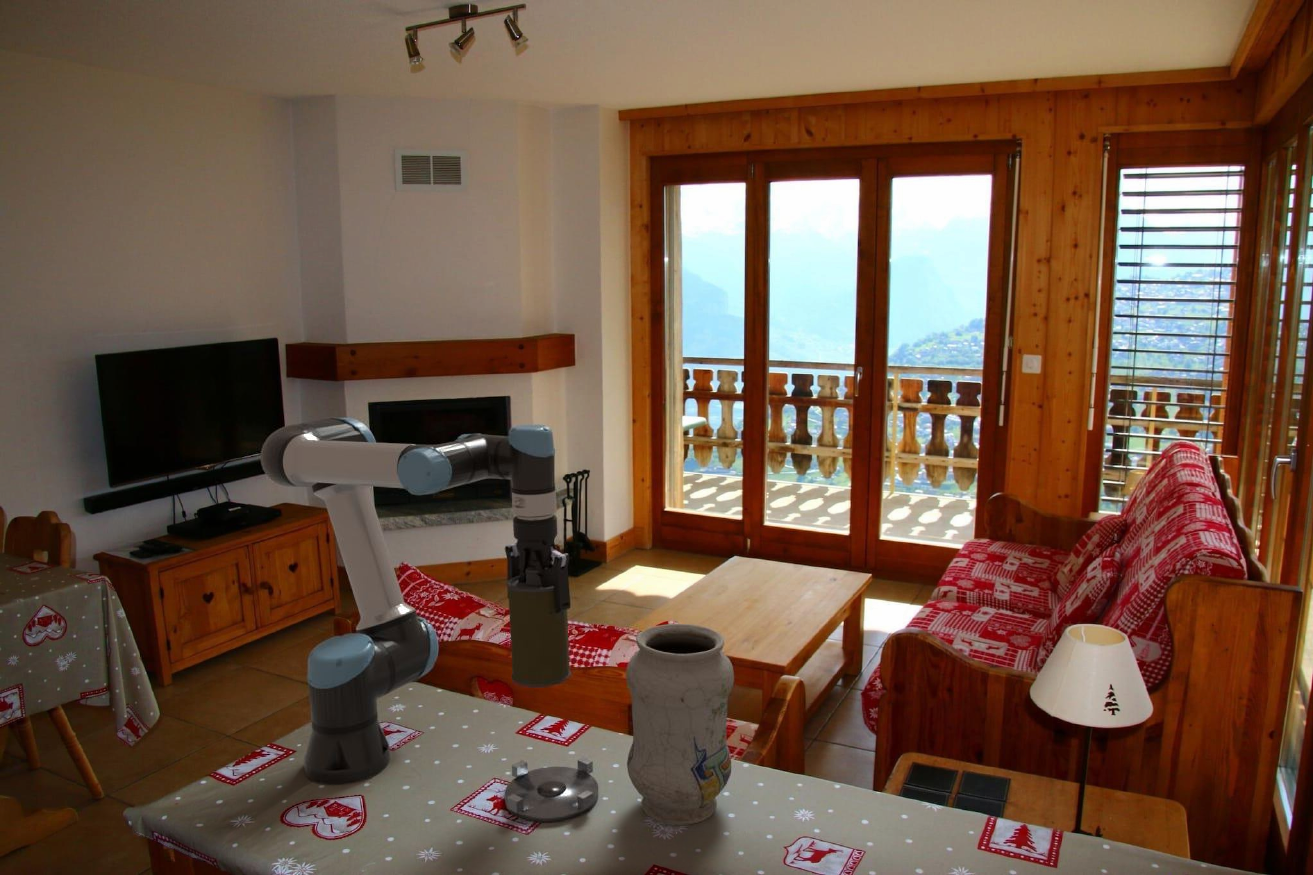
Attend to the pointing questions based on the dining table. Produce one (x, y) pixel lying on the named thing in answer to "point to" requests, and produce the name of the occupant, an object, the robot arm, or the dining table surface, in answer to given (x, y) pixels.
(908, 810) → the dining table surface
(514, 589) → the canister
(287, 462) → the robot arm
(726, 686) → the vase
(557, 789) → the flange
